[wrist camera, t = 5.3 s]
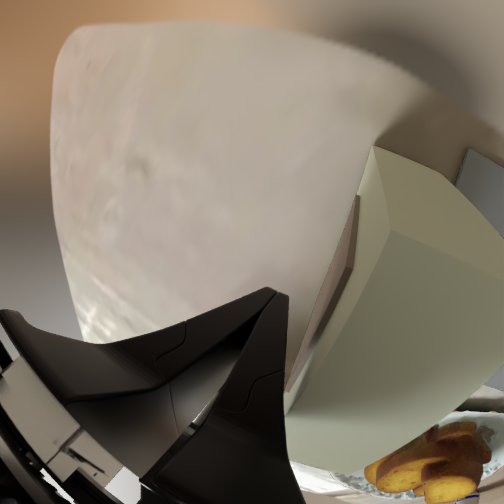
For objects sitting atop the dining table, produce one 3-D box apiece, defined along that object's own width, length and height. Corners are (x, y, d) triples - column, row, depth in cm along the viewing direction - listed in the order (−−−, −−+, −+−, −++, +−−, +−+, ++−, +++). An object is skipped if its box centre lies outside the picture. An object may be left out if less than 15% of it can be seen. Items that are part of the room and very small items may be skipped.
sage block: (373, 314, 17) (348, 475, 8) (316, 293, 18) (255, 448, 9) (440, 173, 12) (549, 306, 3) (368, 143, 13) (379, 225, 4)
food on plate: (298, 446, 31) (279, 485, 26) (452, 362, 16) (453, 434, 11) (413, 491, 27) (404, 522, 21) (544, 432, 12) (545, 473, 7)
